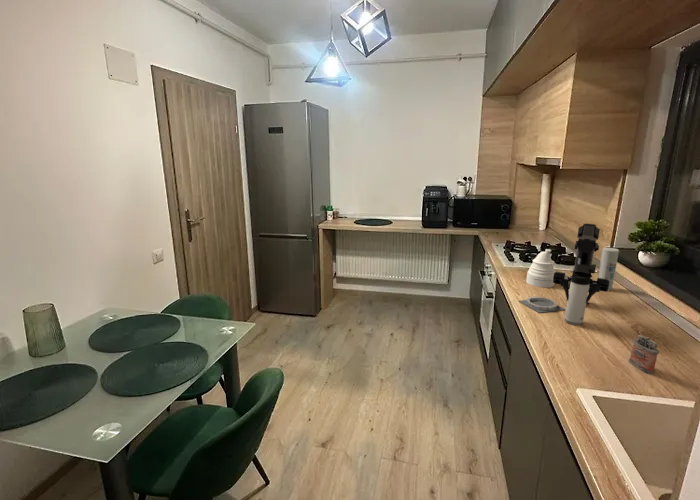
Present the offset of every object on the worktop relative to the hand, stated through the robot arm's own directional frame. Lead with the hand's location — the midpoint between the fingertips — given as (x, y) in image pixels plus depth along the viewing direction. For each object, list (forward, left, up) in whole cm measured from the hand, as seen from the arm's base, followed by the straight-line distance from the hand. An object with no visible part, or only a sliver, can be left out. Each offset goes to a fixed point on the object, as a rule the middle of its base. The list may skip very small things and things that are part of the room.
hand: (577, 300), depth 146 cm
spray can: (-44, -28, -10) cm, 53 cm away
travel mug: (-1, -1, -10) cm, 10 cm away
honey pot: (-20, -43, -10) cm, 48 cm away
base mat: (0, -18, -10) cm, 20 cm away
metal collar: (0, -18, -10) cm, 20 cm away
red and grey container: (+4, +31, -10) cm, 33 cm away
